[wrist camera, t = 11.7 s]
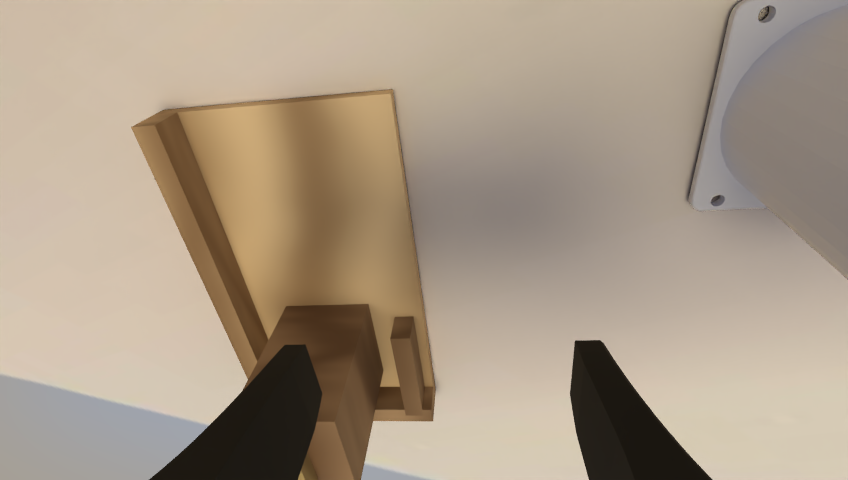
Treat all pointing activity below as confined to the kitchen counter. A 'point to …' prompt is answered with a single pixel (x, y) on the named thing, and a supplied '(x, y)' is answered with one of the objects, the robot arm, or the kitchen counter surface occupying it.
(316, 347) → the cabinet block
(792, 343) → the kitchen counter surface
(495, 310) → the kitchen counter surface
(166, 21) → the kitchen counter surface
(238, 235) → the cleat board
